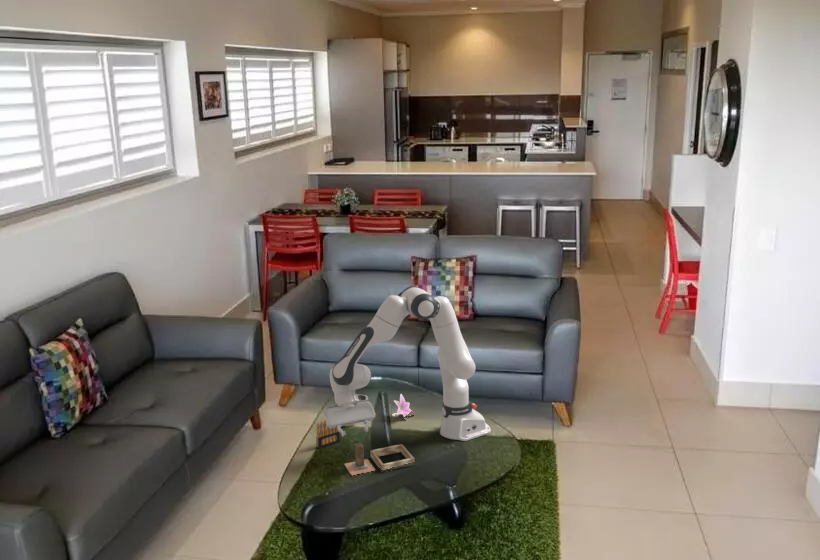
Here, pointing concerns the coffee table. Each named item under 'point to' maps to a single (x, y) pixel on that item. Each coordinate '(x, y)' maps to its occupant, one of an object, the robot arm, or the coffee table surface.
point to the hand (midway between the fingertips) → (355, 433)
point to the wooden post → (359, 458)
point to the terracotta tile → (354, 472)
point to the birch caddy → (391, 450)
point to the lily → (403, 406)
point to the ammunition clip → (326, 435)
